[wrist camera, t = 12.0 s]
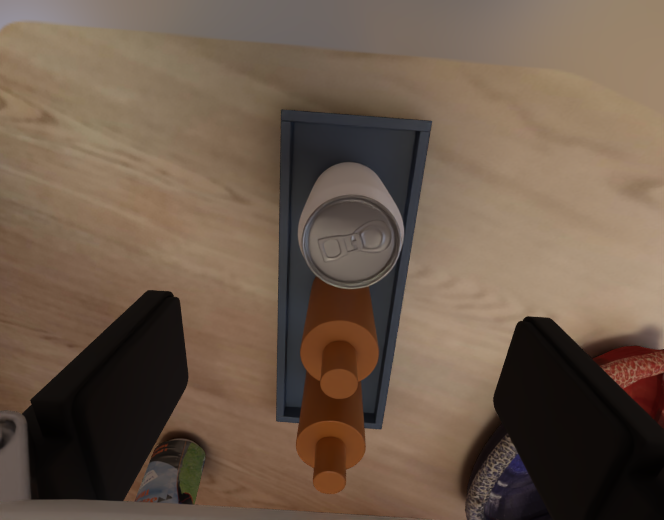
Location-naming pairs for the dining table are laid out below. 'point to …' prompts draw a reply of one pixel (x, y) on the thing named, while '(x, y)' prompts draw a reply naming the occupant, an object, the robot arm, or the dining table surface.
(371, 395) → the tray
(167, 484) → the beverage can
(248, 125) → the dining table surface
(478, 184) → the dining table surface
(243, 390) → the dining table surface
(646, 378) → the dish
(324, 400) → the amber bottle
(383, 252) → the can
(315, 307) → the amber bottle
